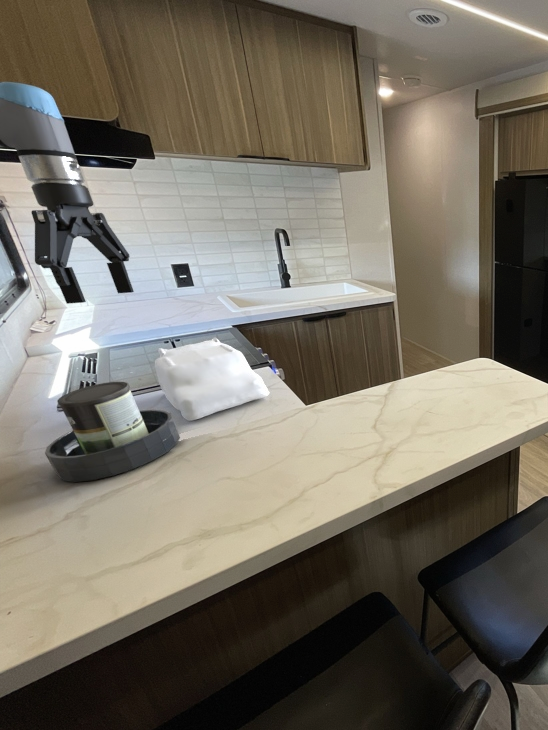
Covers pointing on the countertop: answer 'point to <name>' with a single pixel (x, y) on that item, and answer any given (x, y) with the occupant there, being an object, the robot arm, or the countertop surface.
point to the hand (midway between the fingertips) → (103, 297)
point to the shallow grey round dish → (113, 451)
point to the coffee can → (103, 416)
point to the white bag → (207, 378)
